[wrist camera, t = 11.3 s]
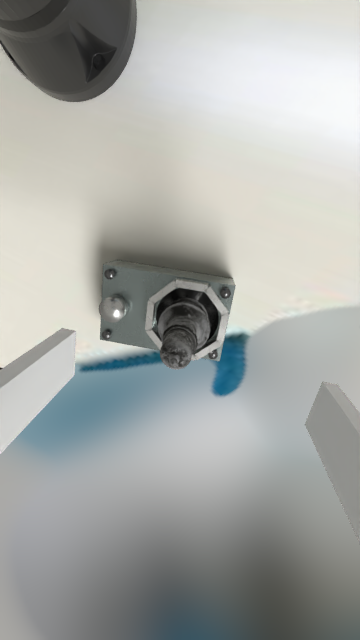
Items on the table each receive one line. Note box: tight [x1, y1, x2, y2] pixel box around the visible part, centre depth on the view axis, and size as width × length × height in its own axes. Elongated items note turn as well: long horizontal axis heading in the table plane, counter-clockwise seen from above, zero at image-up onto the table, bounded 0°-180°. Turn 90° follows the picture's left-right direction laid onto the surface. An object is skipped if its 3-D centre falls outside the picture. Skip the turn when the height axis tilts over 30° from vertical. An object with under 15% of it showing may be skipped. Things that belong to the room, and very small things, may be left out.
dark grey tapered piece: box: [158, 298, 210, 369], centre depth 27 cm, size 6×6×12 cm
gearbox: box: [99, 260, 235, 361], centre depth 35 cm, size 16×10×7 cm, turn 82°
